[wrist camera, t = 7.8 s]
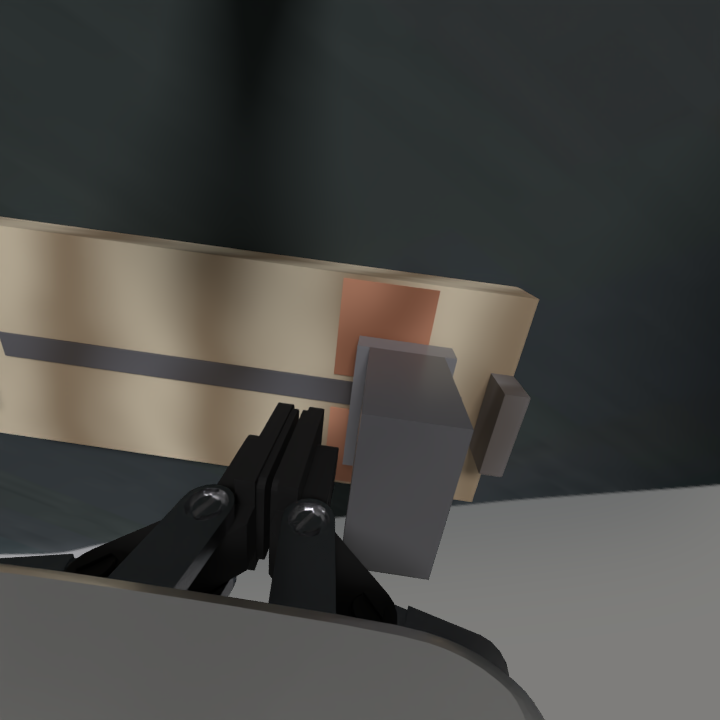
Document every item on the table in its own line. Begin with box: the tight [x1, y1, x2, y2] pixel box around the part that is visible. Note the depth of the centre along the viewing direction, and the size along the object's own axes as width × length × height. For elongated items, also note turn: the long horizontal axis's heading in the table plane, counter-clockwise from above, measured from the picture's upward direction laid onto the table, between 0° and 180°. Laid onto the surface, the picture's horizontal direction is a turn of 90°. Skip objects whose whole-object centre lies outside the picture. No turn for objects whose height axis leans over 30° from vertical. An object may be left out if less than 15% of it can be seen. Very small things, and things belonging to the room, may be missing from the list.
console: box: [0, 217, 539, 502], centre depth 17 cm, size 26×11×4 cm, turn 83°
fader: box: [342, 336, 474, 580], centre depth 13 cm, size 4×6×6 cm, turn 173°
